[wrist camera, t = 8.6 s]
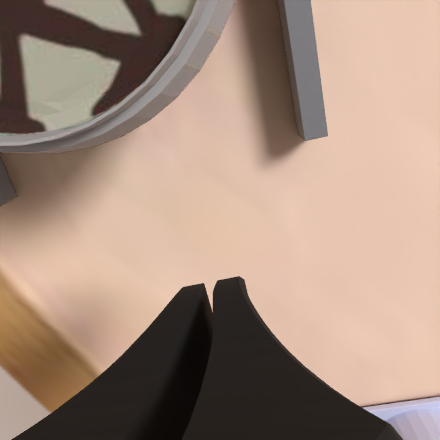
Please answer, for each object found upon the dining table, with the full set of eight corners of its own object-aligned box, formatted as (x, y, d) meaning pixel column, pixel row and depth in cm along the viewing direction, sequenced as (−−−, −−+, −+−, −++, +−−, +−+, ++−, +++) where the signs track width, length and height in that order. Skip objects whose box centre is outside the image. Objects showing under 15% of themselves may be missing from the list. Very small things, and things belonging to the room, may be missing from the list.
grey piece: (318, 129, 19) (336, 142, 16) (-1, 199, 21) (-45, 225, 17) (266, -255, 14) (276, -357, 11) (-144, -118, 16) (-244, -168, 13)
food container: (8, 133, 19) (-198, 191, 10) (-33, -7, 17) (-346, -96, 8) (254, 106, 19) (276, 144, 9) (243, -44, 16) (257, -193, 7)
